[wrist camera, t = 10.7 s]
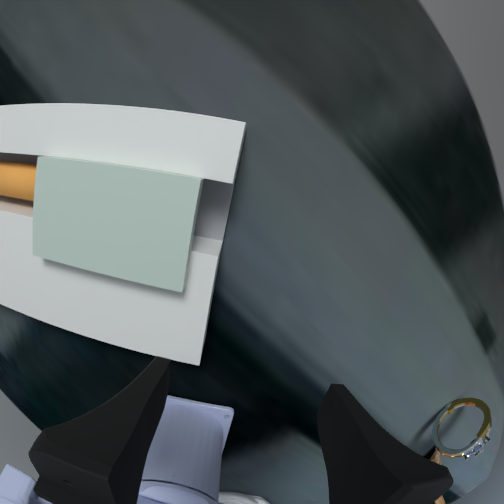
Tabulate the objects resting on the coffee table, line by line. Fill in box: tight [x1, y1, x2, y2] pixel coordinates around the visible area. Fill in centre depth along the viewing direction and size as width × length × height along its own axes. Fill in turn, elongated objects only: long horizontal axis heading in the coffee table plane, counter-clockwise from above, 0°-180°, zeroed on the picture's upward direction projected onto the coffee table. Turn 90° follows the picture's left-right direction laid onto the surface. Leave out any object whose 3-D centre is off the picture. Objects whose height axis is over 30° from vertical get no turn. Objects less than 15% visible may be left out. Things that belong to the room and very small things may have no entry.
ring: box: [432, 398, 491, 460], centre depth 23 cm, size 7×3×8 cm, turn 122°
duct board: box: [0, 103, 246, 365], centre depth 18 cm, size 15×21×4 cm
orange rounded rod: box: [0, 161, 37, 201], centre depth 17 cm, size 2×12×2 cm, turn 77°
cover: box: [33, 156, 204, 292], centre depth 16 cm, size 6×10×1 cm, turn 78°
